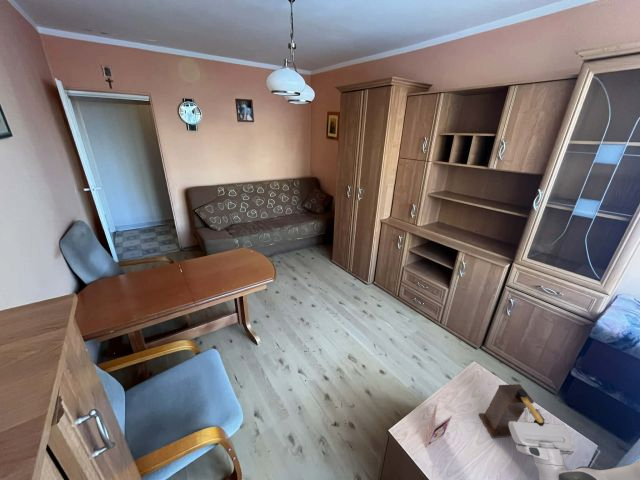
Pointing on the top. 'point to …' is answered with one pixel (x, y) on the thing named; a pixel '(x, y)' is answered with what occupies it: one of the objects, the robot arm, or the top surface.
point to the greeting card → (436, 429)
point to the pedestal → (503, 411)
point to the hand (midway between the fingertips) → (532, 408)
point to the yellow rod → (529, 406)
